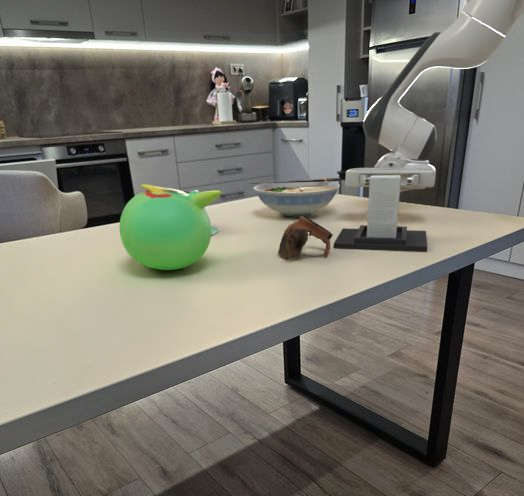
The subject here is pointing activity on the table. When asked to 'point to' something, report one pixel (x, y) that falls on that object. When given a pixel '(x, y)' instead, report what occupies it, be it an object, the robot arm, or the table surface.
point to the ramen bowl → (297, 195)
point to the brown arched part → (302, 237)
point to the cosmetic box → (383, 206)
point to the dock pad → (382, 240)
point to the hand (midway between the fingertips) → (388, 181)
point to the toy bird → (167, 227)
